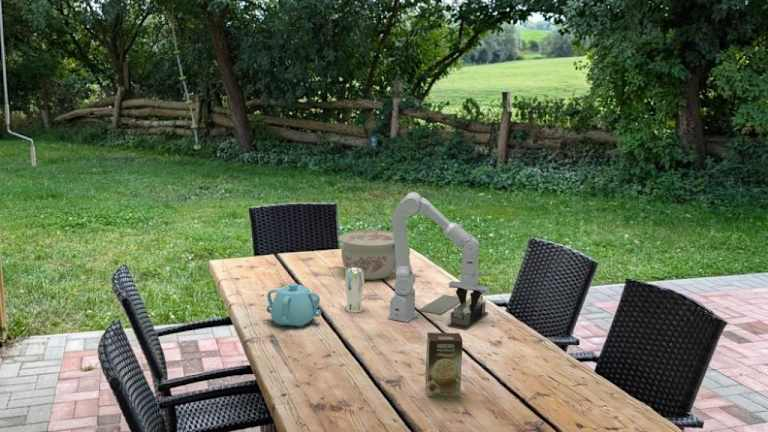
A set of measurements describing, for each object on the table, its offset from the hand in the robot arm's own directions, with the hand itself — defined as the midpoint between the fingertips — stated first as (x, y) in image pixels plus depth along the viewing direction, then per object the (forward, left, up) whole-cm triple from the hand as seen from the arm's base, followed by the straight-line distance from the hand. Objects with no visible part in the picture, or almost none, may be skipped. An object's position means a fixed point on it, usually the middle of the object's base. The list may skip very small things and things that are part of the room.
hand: (468, 310), depth 265 cm
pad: (+11, +15, -4) cm, 19 cm away
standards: (0, 0, -4) cm, 4 cm away
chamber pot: (+31, +58, -4) cm, 66 cm away
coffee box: (-59, -18, -4) cm, 62 cm away
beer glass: (-11, +40, -4) cm, 42 cm away
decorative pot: (-33, +51, -4) cm, 61 cm away
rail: (0, 0, 0) cm, 0 cm away
